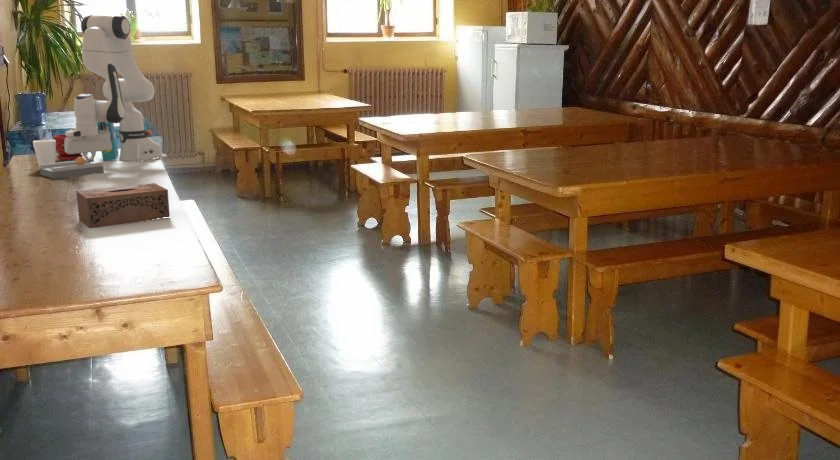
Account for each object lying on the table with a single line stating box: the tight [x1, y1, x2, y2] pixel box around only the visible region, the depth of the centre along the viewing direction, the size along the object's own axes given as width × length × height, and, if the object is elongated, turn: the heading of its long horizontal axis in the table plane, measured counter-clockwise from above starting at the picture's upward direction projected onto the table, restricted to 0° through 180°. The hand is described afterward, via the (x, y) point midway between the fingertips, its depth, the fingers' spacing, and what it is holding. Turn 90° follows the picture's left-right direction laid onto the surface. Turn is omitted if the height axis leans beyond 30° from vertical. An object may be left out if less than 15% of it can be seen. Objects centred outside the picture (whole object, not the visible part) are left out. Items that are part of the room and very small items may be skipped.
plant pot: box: [53, 134, 84, 162], centre depth 396 cm, size 13×13×12 cm
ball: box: [74, 157, 86, 165], centre depth 359 cm, size 4×4×4 cm
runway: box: [39, 159, 105, 180], centre depth 356 cm, size 22×14×4 cm, turn 135°
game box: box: [97, 122, 119, 162], centre depth 399 cm, size 20×6×27 cm, turn 17°
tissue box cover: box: [76, 182, 171, 229], centre depth 270 cm, size 26×14×10 cm, turn 124°
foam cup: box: [32, 139, 57, 169], centre depth 367 cm, size 10×9×13 cm
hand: (90, 162), depth 362 cm, fingers closed
